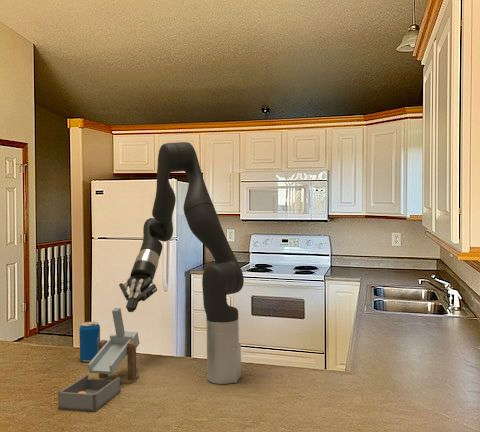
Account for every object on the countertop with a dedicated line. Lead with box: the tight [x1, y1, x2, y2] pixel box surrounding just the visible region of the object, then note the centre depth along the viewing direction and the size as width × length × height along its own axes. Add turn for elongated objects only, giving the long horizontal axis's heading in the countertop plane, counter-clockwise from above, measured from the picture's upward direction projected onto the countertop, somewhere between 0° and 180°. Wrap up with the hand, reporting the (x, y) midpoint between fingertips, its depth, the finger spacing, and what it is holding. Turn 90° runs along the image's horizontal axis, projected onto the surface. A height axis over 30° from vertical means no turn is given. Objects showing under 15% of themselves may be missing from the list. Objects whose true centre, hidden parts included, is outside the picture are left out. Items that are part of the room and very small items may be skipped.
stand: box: [97, 339, 140, 385], centre depth 138 cm, size 12×5×11 cm, turn 77°
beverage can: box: [79, 321, 101, 363], centre depth 157 cm, size 6×6×12 cm
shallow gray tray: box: [57, 374, 121, 413], centre depth 123 cm, size 10×13×4 cm
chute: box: [88, 307, 140, 374], centre depth 136 cm, size 7×18×14 cm, turn 168°
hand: (130, 310), depth 147 cm, fingers closed
